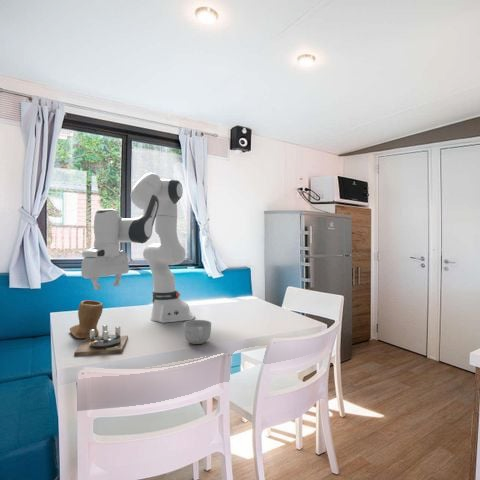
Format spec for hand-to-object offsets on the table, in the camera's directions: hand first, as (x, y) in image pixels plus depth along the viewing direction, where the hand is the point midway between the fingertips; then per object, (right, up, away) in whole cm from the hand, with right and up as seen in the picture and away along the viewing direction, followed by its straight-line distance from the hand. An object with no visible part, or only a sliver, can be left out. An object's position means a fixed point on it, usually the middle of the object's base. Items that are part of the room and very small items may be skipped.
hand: (107, 287), depth 125 cm
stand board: (-2, -23, +2) cm, 23 cm away
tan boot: (-16, -23, +17) cm, 33 cm away
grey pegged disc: (-1, -22, +1) cm, 22 cm away
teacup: (+34, -23, +6) cm, 41 cm away
